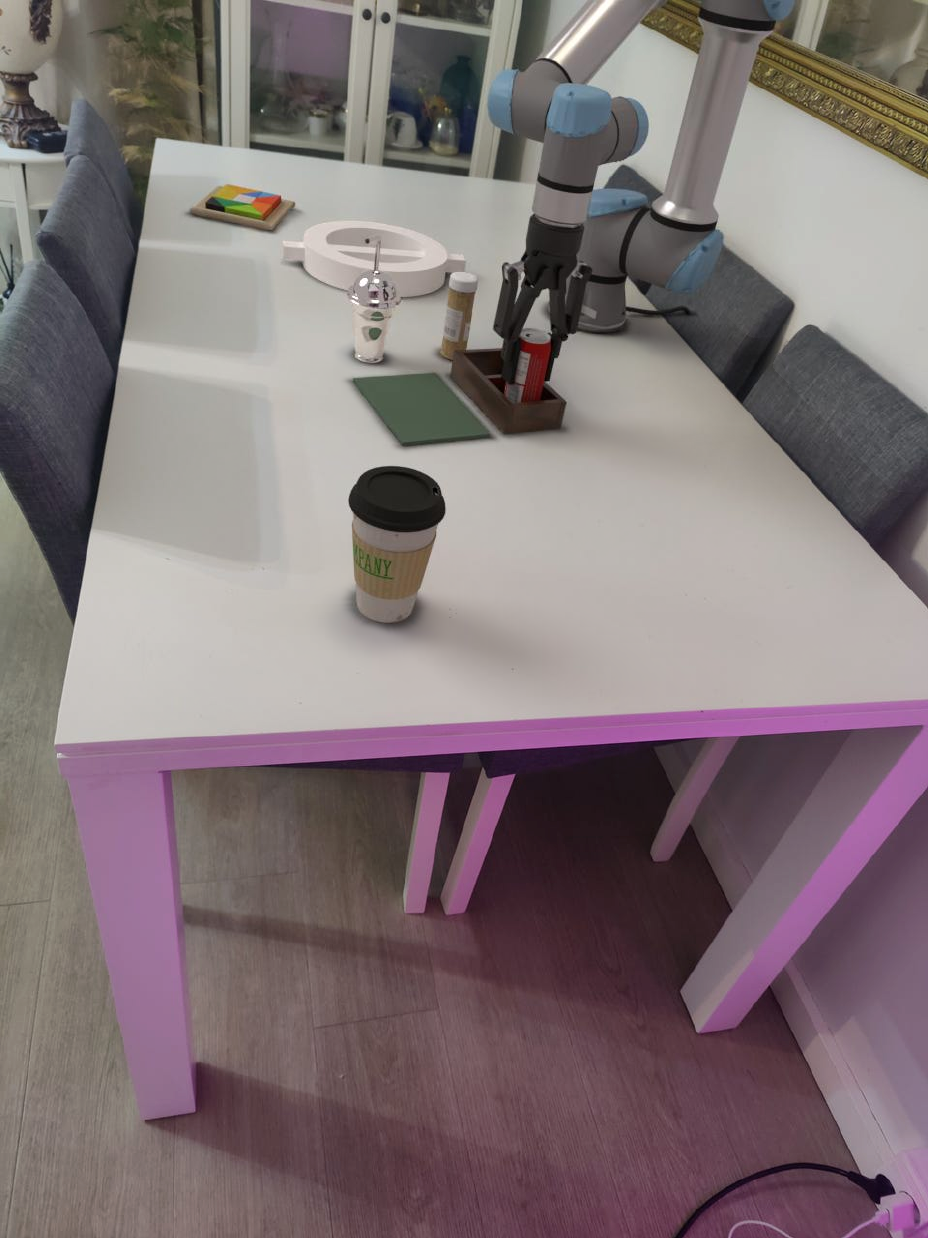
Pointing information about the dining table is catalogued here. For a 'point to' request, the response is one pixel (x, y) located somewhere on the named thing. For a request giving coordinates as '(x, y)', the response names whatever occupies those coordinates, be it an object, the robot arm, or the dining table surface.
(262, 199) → the wooden puzzle
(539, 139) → the robot arm
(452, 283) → the sprinkles bottle
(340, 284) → the ring with crossbar
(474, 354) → the can holder
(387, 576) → the coffee cup
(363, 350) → the cup with straw
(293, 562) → the dining table surface
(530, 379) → the soda can
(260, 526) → the dining table surface
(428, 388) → the rubber mat
